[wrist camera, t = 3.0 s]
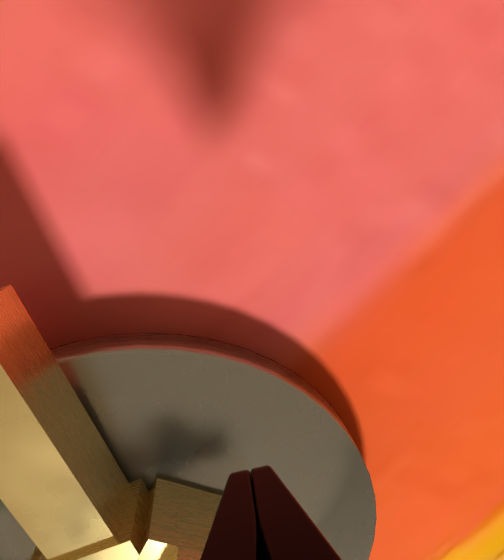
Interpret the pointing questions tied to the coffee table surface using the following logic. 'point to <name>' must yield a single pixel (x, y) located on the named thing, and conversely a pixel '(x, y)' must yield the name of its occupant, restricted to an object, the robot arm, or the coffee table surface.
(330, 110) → the coffee table surface
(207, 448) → the flange
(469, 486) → the coffee table surface
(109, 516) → the brass ring wrench
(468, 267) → the coffee table surface
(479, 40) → the coffee table surface
